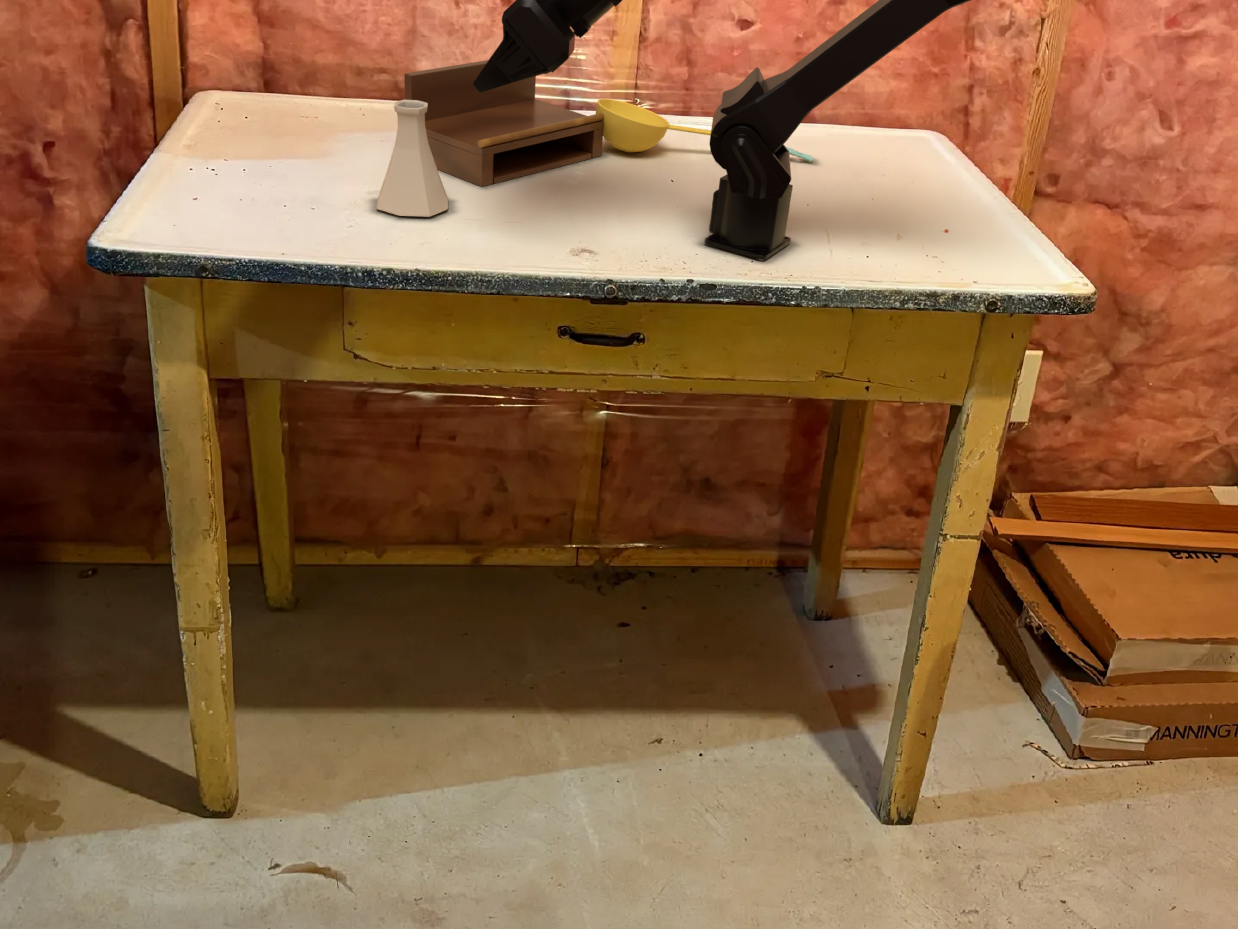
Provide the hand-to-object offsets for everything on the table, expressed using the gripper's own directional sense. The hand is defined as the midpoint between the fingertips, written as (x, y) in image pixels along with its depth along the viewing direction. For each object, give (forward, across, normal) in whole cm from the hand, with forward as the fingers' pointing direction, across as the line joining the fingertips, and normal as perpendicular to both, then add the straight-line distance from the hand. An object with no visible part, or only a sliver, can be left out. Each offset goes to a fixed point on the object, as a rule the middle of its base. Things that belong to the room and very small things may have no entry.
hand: (486, 76), depth 105 cm
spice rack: (+10, -19, +9) cm, 23 cm away
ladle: (-5, -28, +24) cm, 37 cm away
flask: (+15, 0, +4) cm, 15 cm away
